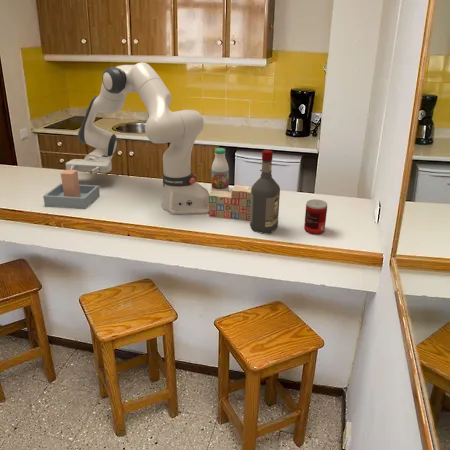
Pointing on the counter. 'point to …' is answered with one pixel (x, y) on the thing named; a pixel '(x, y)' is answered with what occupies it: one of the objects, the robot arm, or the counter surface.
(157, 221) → the counter surface
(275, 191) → the liquor
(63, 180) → the terracotta block
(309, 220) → the canned food
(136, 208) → the counter surface
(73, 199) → the tray
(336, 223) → the counter surface
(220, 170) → the milk bottle
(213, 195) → the stack of blocks
